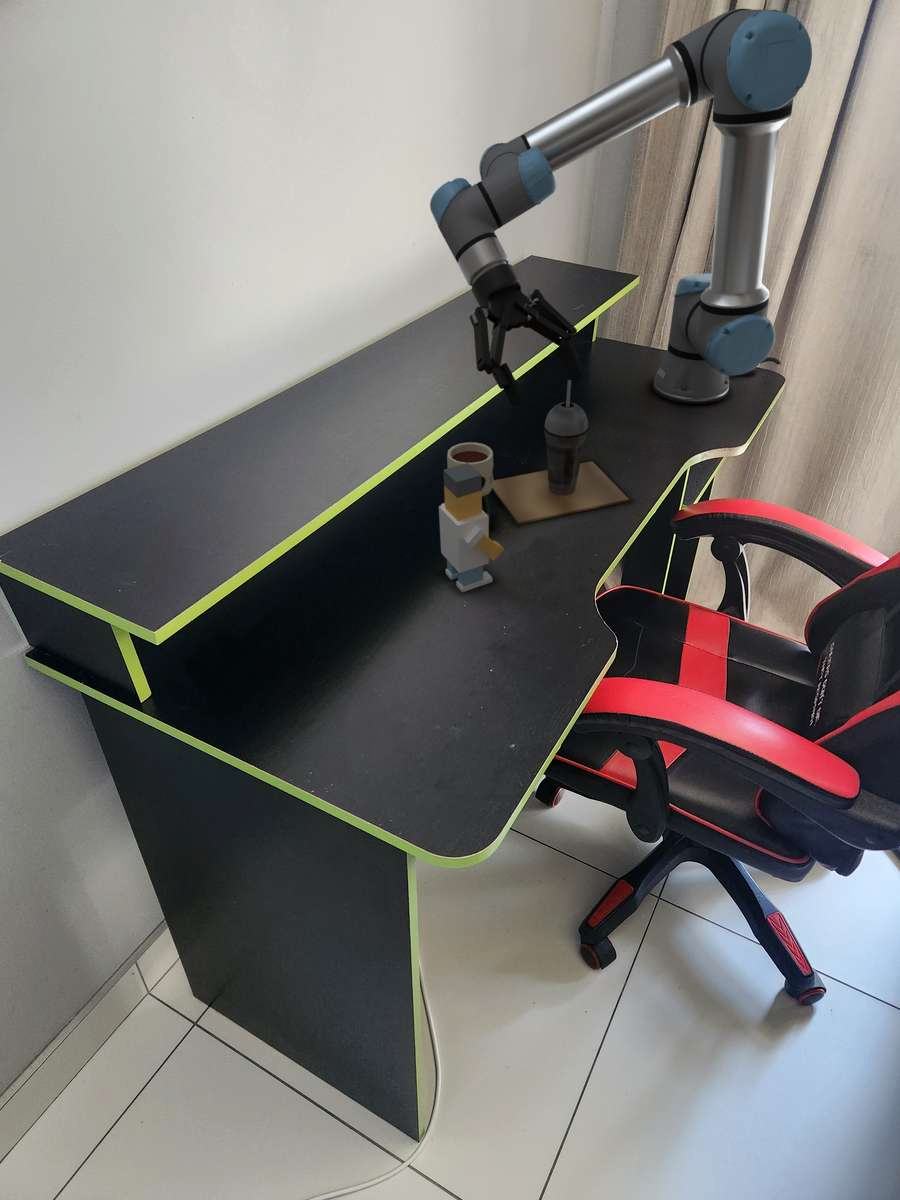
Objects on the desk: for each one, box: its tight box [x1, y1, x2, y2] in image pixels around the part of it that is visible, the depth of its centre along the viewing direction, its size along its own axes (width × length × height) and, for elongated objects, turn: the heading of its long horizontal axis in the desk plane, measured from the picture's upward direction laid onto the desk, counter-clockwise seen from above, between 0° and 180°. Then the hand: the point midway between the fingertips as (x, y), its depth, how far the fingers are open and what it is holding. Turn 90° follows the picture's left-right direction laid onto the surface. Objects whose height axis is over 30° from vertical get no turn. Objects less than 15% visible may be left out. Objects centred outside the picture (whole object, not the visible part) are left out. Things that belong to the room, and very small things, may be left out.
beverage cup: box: [543, 379, 590, 496], centre depth 128 cm, size 7×7×20 cm
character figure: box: [438, 463, 505, 593], centre depth 110 cm, size 8×10×18 cm
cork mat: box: [491, 460, 630, 526], centre depth 134 cm, size 20×14×1 cm
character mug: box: [446, 442, 494, 525], centre depth 123 cm, size 11×7×13 cm, turn 141°
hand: (550, 391), depth 127 cm, fingers open, 13 cm apart
